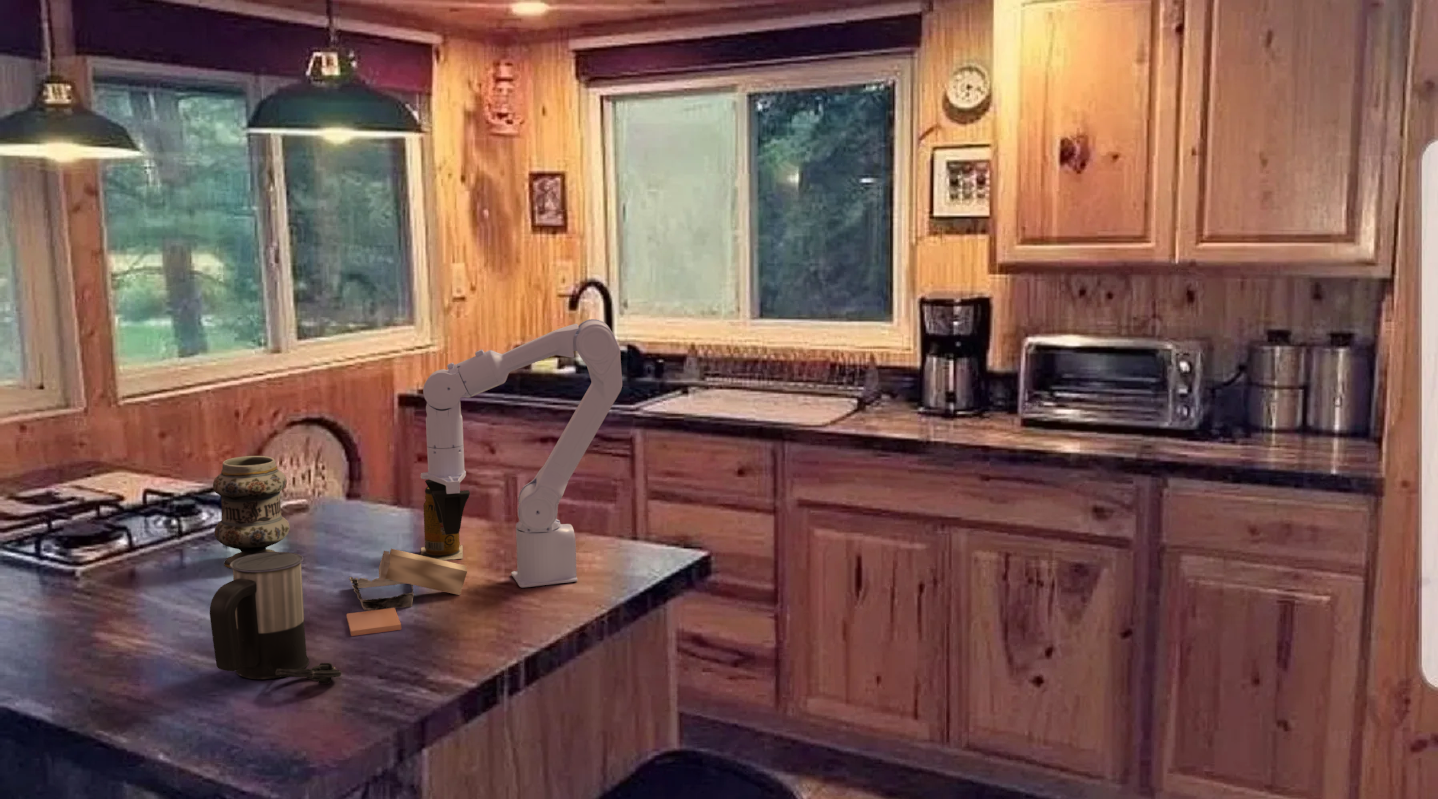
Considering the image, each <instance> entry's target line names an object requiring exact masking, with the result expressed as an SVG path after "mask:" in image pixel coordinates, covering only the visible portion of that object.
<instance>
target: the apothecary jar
mask: <svg viewBox="0 0 1438 799" xmlns="http://www.w3.org/2000/svg"><path fill="white" fill-rule="evenodd" d="M221 467H222V469H221V472H220V473H219V474H218V475H216V477H215V478H214V479H213V482H212V489H213V491H214V493H216V494H217V495H219V496H220V498H221V500H220V502H221V520H220V521H219V522H218V523H217V525H216V526H215V529H214V537H215V539H216V541H218V543H220V544H222V545H223V546H226V547H228V548H232V549H235V550H240V551H239V552H237V553H235V554H233V555H232V556H230V557H228V558H226V559H225V560H224V561H223V565H224V567H225V568H227V569H228V568H229V569H231V570H233V569H232V568H231V567H230V563H231V562H232V561H234V560H236V559H238V558H241V557H245V556H247V555H253V554H258V553H266V552H276V551H275V550H273V549H268V547H271V546H274V545H276V544H278V543H280V542H281V541H282V540H284V539H285V538H286V537H287V535H288V533H289V532H290V529H291V528H290V527H291V526H290V523H289V521H288V520H287V519H286V518H285V517H284V516H282V507H281V492H282V491H283V490H284V488H285V487H286V485H287V477H286V475H285V474H284V472H282V471H281V470H280V469H278V466H277V465H276V459H275V458H273V457H271V456H267V455H265V456H264V455H248V456H236V457H232V458H228V459H225V460H224V461H223V462H222V466H221Z"/></svg>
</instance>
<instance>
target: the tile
mask: <svg viewBox="0 0 1438 799" xmlns="http://www.w3.org/2000/svg"><path fill="white" fill-rule="evenodd" d="M346 620H347V625H348V628H349V633H350V636H351V637H354V636H355V637H356V636H363V635H369V634H378V633H386V632H393V631H400V630H402V623H401V621H400V618H399V616H398V613H397V611H396V608H387V609H380V610H371V611H367V610H364V611H357V612H350V613H349V612H348V613H346Z"/></svg>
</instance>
